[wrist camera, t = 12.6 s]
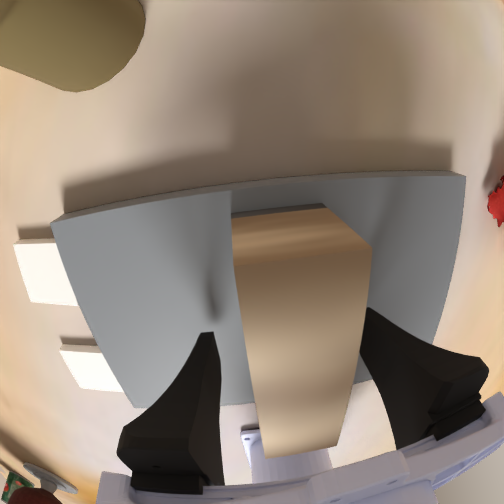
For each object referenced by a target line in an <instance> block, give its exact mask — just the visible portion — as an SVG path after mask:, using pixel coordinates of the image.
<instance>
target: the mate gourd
mask: <svg viewBox="0 0 504 504" xmlns="http://www.w3.org/2000/svg"><path fill="white" fill-rule="evenodd" d="M23 467H24V468H25V469H26V470H27V471H28V472H29V473H31V474H32V475H33V476H35V477H36V478H38V479H40V482H41V488H32V487H26V486H23V487H20V488H18V489H16V490H14V492H13V493H12V495H11V496H10V498H9V500H8V504H62V503H61V502H60V501H59V500H58V499H57V498H56V497H55V496H54V495H53V493H54V492H55V491H56V490H57V489H60V490H62V491H65V492H68V493H73V494H77V493H78V489H77V488H76V487H75V486H73V485H72V484H70V483H69V482H67V481H65V480H64V479H62V478H60V477H58V476H56V475H55V474H53V473H51V472H49V471H47V470H45V469H42V468H40V467H38V466H36V465H33V464H30V463H26V462H25V463H24V465H23Z"/></svg>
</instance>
